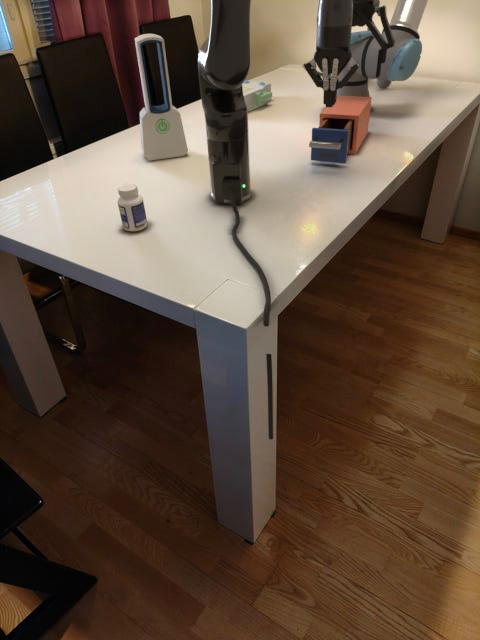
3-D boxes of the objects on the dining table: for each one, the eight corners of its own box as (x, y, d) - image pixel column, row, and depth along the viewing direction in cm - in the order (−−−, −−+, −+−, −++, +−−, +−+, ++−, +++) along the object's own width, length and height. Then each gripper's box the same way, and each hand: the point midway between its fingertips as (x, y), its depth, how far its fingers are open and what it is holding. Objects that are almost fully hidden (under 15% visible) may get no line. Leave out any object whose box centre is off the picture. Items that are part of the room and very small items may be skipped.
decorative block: (236, 77, 186) (280, 82, 177) (237, 95, 190) (280, 101, 181) (193, 93, 170) (239, 99, 161) (195, 112, 174) (240, 119, 165)
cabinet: (355, 154, 134) (358, 115, 127) (317, 151, 137) (319, 113, 131) (367, 132, 148) (371, 97, 141) (333, 130, 151) (336, 95, 145)
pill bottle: (149, 220, 107) (142, 181, 102) (146, 231, 103) (138, 191, 98) (125, 221, 107) (116, 182, 102) (121, 232, 103) (112, 193, 98)
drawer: (340, 171, 122) (343, 138, 117) (304, 168, 125) (306, 135, 120) (358, 141, 139) (361, 111, 134) (326, 139, 142) (328, 109, 137)
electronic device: (145, 161, 137) (124, 39, 118) (142, 153, 142) (122, 35, 124) (188, 155, 139) (175, 34, 121) (184, 147, 145) (170, 31, 126)
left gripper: (368, 19, 107) (360, 103, 117) (309, 20, 111) (306, 101, 121) (361, 24, 101) (353, 112, 112) (300, 25, 105) (298, 109, 116)
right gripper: (414, -20, 122) (400, 73, 135) (316, -17, 130) (313, 71, 143) (410, -17, 117) (397, 79, 130) (309, -14, 125) (306, 77, 138)
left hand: (329, 106), depth 117 cm, fingers closed
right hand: (353, 75), depth 136 cm, fingers open, 13 cm apart
